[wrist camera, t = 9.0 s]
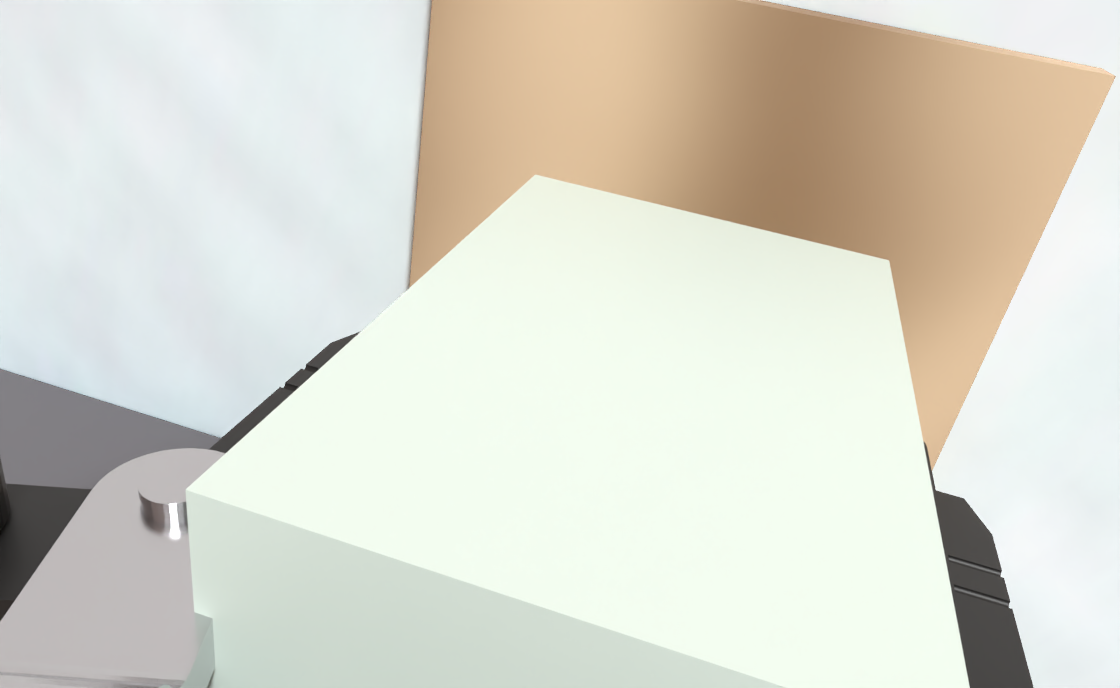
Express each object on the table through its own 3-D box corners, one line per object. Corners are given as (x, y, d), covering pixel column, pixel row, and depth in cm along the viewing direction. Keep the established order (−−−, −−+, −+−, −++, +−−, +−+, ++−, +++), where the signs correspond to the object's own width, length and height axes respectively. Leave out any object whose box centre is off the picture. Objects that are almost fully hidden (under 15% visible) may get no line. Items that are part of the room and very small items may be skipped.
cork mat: (409, 436, 17) (396, 453, 16) (452, -61, 12) (437, -60, 12) (870, 576, 15) (871, 599, 15) (1101, 69, 11) (1115, 76, 10)
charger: (493, 453, 13) (210, 917, 7) (535, 174, 11) (175, 498, 5) (784, 540, 12) (745, 1142, 6) (888, 260, 10) (986, 766, 4)
